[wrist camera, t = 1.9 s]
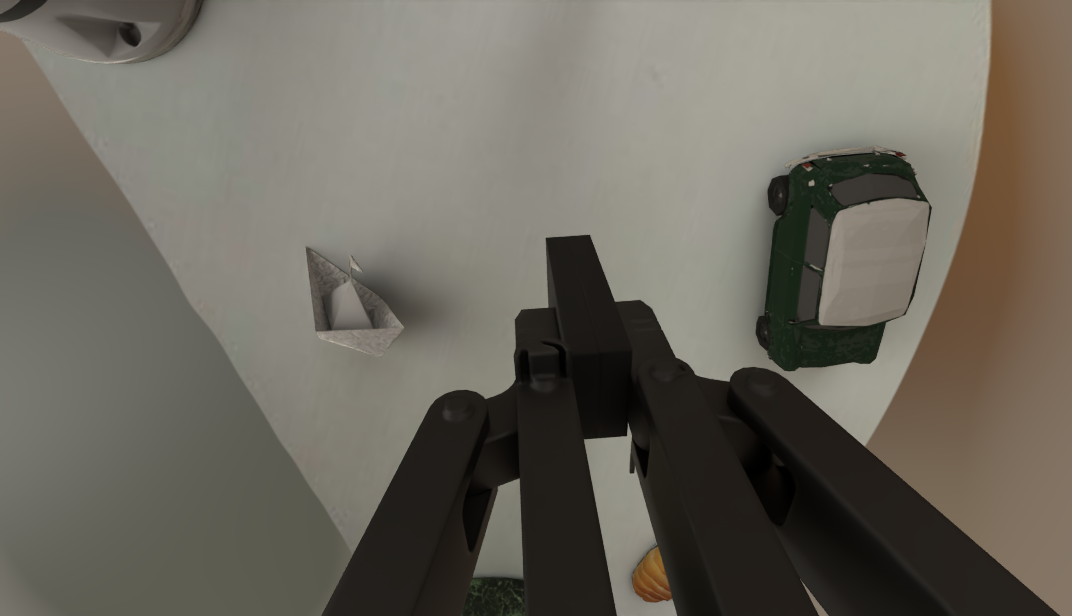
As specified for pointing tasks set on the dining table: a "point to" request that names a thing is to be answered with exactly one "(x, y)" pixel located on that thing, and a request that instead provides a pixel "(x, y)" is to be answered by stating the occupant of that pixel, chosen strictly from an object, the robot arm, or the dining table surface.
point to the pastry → (651, 578)
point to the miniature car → (841, 256)
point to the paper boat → (349, 309)
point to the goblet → (495, 597)
